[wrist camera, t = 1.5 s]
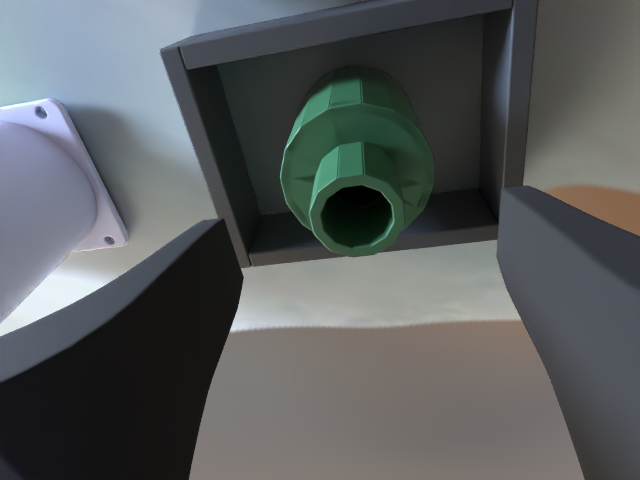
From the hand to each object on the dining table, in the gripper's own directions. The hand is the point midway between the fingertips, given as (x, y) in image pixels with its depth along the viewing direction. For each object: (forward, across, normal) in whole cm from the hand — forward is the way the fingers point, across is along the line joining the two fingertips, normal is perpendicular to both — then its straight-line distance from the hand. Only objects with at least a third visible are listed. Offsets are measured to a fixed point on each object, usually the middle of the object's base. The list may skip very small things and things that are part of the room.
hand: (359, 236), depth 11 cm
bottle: (+10, 0, 0) cm, 10 cm away
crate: (+10, 0, 0) cm, 10 cm away
